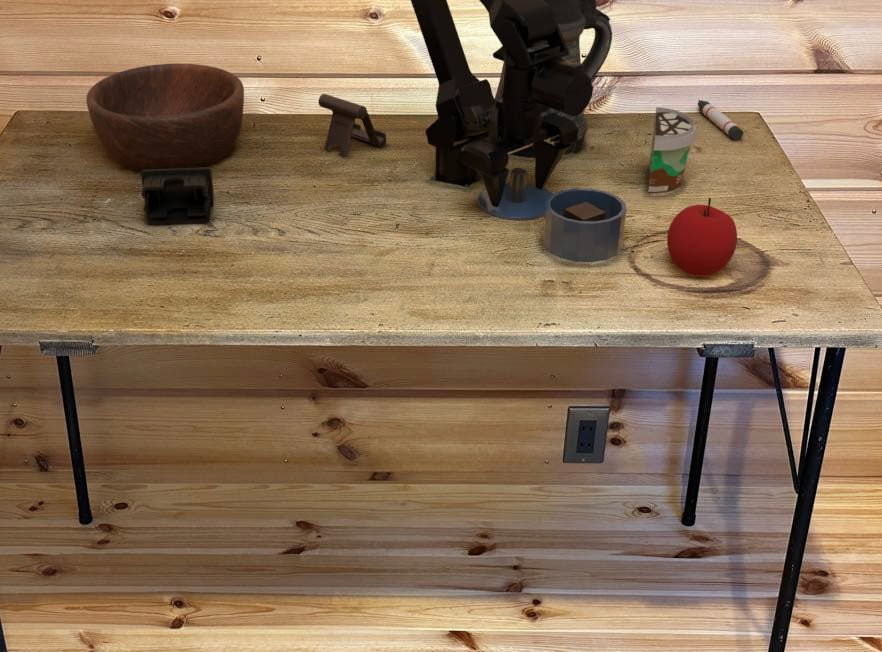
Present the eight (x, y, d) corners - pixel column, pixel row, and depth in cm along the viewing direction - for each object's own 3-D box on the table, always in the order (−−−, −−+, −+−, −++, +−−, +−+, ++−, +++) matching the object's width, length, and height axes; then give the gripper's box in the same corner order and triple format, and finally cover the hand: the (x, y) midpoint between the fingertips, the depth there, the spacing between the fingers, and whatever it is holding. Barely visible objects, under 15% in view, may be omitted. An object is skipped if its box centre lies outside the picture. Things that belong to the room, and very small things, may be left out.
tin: (531, 255, 164) (534, 213, 160) (559, 223, 171) (562, 182, 168) (606, 272, 160) (611, 229, 156) (631, 238, 167) (636, 197, 164)
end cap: (215, 202, 179) (210, 160, 175) (212, 223, 173) (207, 180, 169) (148, 204, 179) (142, 162, 175) (143, 226, 173) (137, 183, 169)
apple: (648, 262, 162) (657, 195, 156) (699, 246, 165) (709, 179, 159) (694, 291, 155) (705, 222, 149) (746, 274, 159) (759, 205, 153)
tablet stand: (387, 145, 195) (386, 96, 191) (355, 160, 191) (353, 110, 186) (348, 132, 200) (346, 84, 195) (315, 146, 195) (313, 97, 191)
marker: (742, 139, 195) (744, 128, 194) (731, 141, 195) (733, 129, 193) (702, 106, 207) (704, 95, 206) (692, 107, 207) (693, 96, 206)
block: (561, 242, 166) (564, 208, 163) (583, 235, 168) (586, 201, 164) (580, 253, 163) (583, 219, 160) (602, 246, 165) (605, 212, 162)
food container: (689, 203, 176) (698, 139, 170) (647, 200, 177) (655, 137, 171) (688, 169, 186) (697, 108, 180) (648, 166, 187) (656, 105, 181)
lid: (465, 214, 174) (466, 179, 171) (496, 184, 183) (497, 149, 179) (539, 230, 170) (541, 194, 167) (567, 198, 178) (570, 163, 175)
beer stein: (465, 145, 195) (469, -10, 181) (532, 110, 207) (541, -38, 192) (549, 171, 186) (561, 11, 172) (614, 133, 198) (630, -20, 184)
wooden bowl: (99, 189, 183) (88, 126, 177) (92, 129, 203) (82, 70, 197) (259, 171, 188) (254, 109, 182) (237, 114, 208) (232, 56, 202)
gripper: (528, 65, 176) (522, 163, 185) (435, 96, 167) (434, 197, 176) (584, 85, 169) (575, 185, 178) (490, 118, 160) (486, 223, 169)
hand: (517, 197), depth 175 cm, fingers open, 9 cm apart
